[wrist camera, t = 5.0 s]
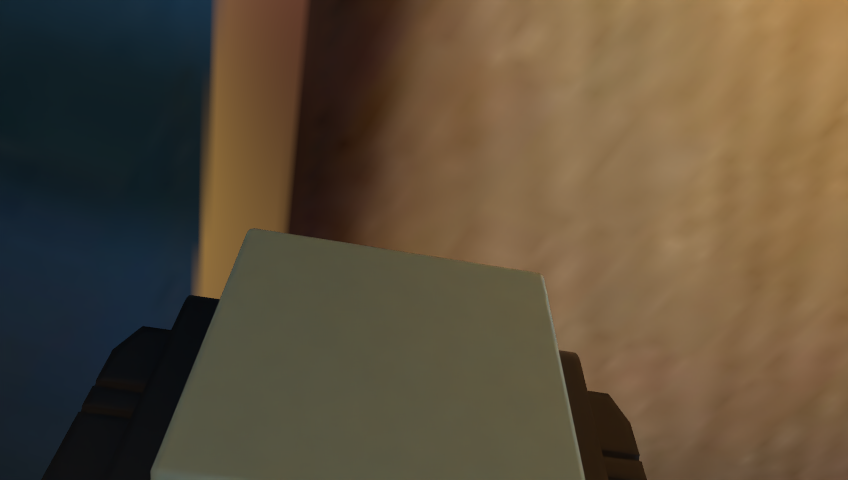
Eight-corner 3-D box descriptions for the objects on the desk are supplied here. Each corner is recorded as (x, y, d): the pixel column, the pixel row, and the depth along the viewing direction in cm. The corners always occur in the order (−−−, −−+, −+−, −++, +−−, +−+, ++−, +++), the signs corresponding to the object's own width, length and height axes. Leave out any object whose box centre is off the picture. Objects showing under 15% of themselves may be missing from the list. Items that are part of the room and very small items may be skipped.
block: (236, 432, 12) (155, 701, 8) (248, 224, 10) (146, 473, 6) (480, 465, 12) (497, 735, 9) (545, 271, 10) (600, 531, 7)
